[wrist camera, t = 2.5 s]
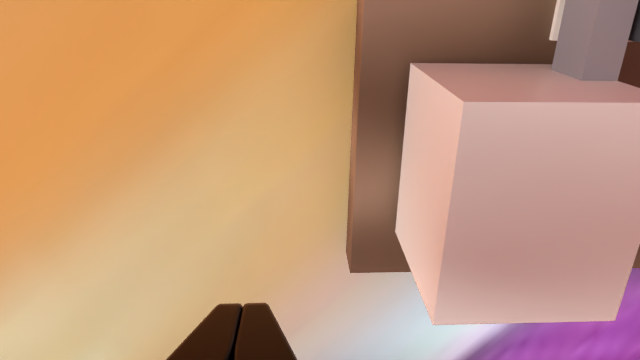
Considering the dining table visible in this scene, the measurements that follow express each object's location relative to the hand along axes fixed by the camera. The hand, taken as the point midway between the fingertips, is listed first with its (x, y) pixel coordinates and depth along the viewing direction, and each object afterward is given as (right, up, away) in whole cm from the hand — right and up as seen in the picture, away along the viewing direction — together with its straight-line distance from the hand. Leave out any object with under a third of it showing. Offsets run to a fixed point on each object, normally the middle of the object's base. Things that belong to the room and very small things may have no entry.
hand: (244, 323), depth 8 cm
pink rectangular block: (+7, +5, +7) cm, 11 cm away
